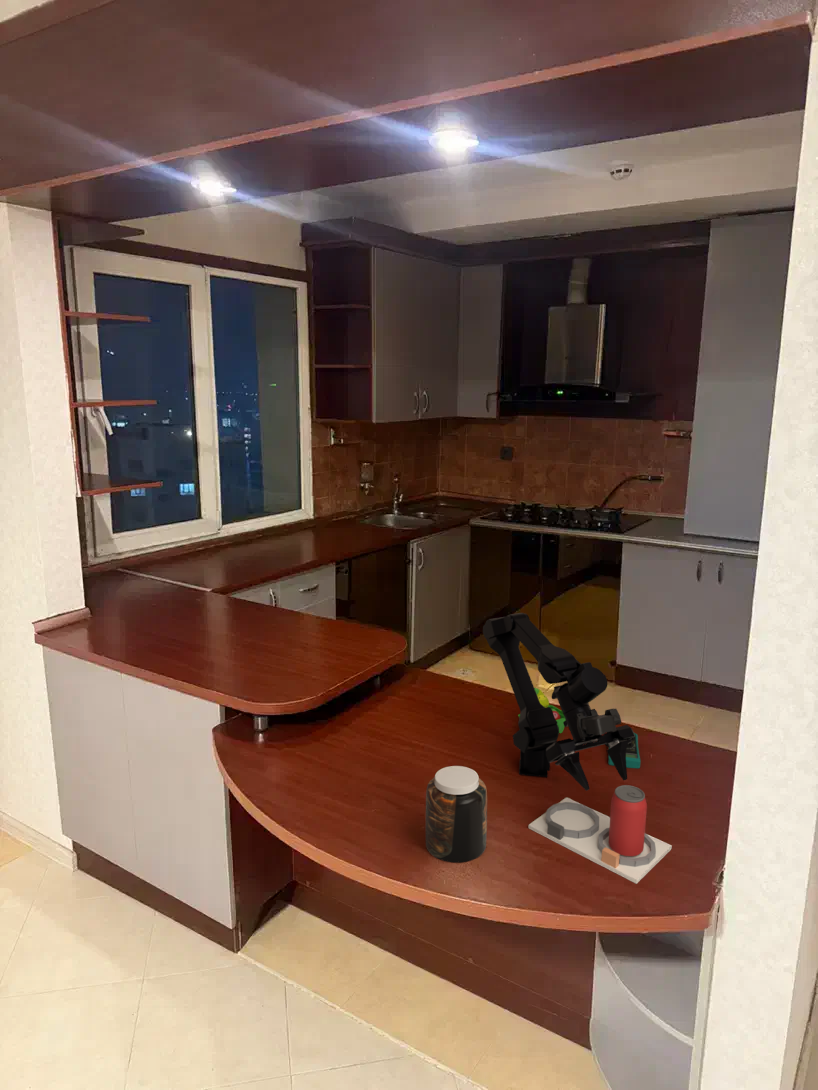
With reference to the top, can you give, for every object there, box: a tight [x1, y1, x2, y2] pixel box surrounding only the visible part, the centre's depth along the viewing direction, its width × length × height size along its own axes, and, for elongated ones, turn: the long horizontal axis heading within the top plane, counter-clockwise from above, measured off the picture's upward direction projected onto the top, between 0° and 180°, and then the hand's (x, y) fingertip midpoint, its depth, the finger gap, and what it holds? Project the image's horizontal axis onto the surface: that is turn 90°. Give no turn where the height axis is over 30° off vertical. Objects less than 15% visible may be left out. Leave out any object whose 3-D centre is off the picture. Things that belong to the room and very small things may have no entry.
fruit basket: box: [517, 687, 566, 734], centre depth 191 cm, size 11×9×11 cm
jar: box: [425, 765, 488, 864], centre depth 145 cm, size 12×12×15 cm
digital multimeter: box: [607, 732, 642, 769], centre depth 182 cm, size 7×15×3 cm, turn 166°
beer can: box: [608, 784, 648, 857], centre depth 143 cm, size 7×7×12 cm
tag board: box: [528, 797, 673, 885], centre depth 148 cm, size 24×14×3 cm, turn 45°
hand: (606, 784), depth 148 cm, fingers open, 9 cm apart
